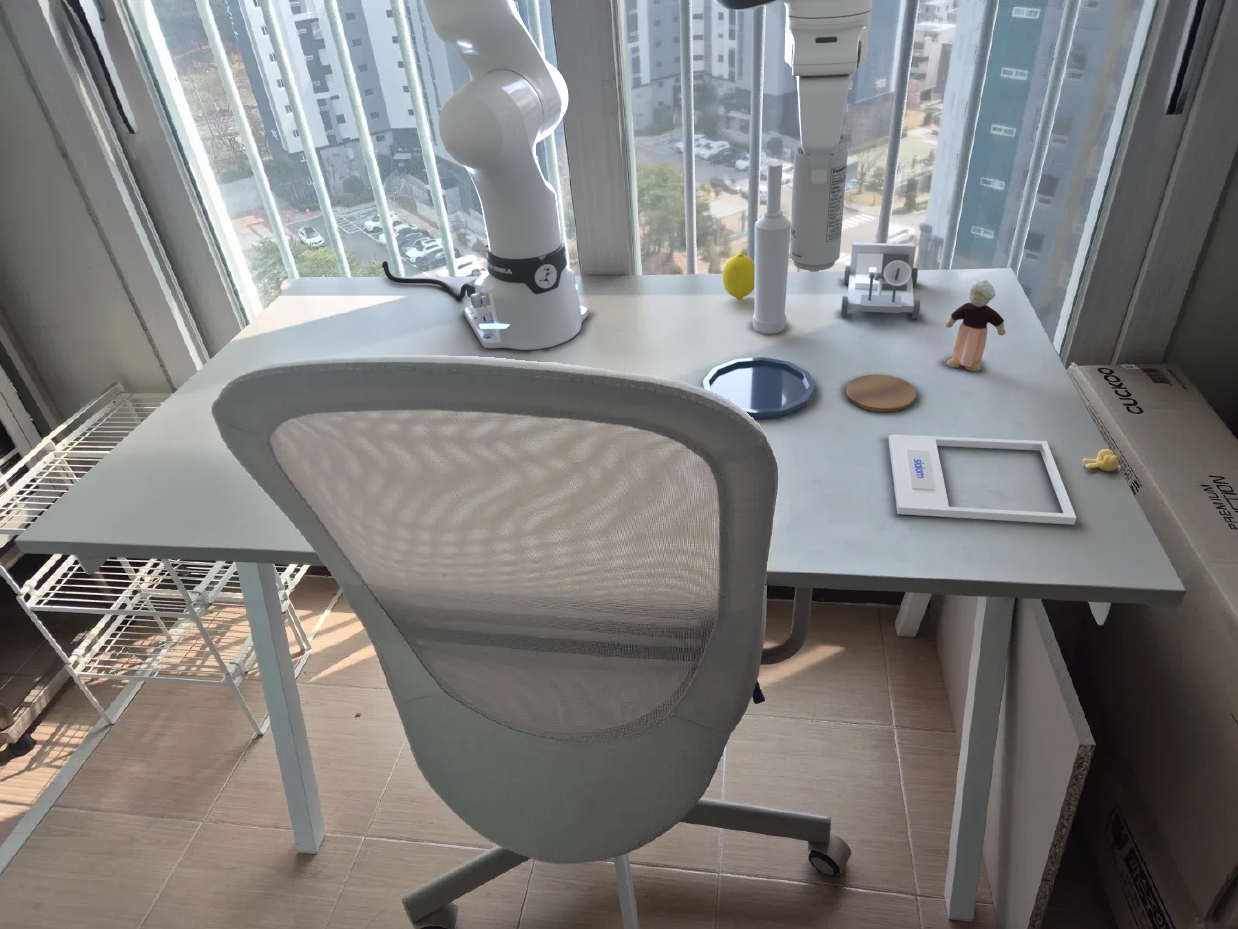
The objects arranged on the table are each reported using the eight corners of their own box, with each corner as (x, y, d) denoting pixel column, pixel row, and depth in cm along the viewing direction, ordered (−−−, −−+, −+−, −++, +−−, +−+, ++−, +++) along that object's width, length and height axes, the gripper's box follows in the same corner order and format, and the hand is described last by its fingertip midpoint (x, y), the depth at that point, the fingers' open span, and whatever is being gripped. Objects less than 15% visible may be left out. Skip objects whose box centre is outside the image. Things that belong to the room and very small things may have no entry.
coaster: (831, 392, 116) (832, 388, 116) (879, 371, 120) (879, 367, 119) (881, 419, 110) (882, 415, 109) (930, 397, 113) (930, 393, 113)
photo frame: (889, 433, 105) (1047, 439, 101) (888, 440, 105) (1044, 447, 102) (898, 506, 93) (1076, 516, 90) (897, 514, 94) (1074, 524, 90)
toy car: (927, 268, 123) (845, 265, 126) (918, 330, 129) (839, 326, 132) (923, 224, 138) (849, 223, 140) (915, 282, 143) (844, 279, 146)
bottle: (785, 334, 131) (793, 169, 116) (751, 333, 132) (754, 169, 117) (786, 320, 135) (794, 158, 120) (753, 319, 136) (757, 158, 122)
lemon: (723, 292, 145) (723, 247, 140) (756, 292, 144) (757, 246, 140) (721, 306, 140) (722, 260, 136) (756, 306, 140) (757, 259, 135)
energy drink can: (799, 251, 109) (805, 129, 101) (845, 257, 106) (856, 132, 98) (781, 268, 105) (786, 142, 96) (829, 275, 102) (838, 146, 94)
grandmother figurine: (938, 369, 119) (952, 284, 112) (939, 356, 122) (953, 272, 115) (997, 375, 117) (1016, 288, 109) (997, 362, 120) (1015, 277, 112)
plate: (681, 387, 120) (681, 379, 119) (764, 354, 126) (764, 347, 125) (750, 432, 109) (751, 424, 109) (837, 395, 115) (837, 387, 115)
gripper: (801, 27, 100) (796, 148, 108) (791, 61, 84) (786, 200, 92) (857, 24, 99) (848, 147, 107) (857, 58, 83) (847, 200, 91)
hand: (819, 172), depth 99 cm, fingers closed on energy drink can, 6 cm apart
